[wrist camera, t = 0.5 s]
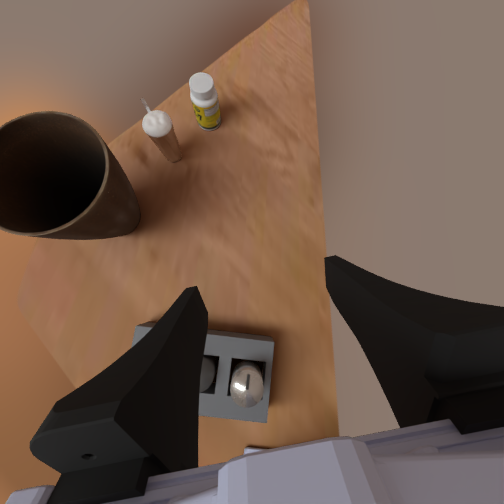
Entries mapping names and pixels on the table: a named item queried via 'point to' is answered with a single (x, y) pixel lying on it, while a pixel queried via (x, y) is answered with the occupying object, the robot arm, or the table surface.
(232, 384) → the knob
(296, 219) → the table surface
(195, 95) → the supplement bottle
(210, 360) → the knob middle
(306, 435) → the table surface
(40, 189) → the plant pot
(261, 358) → the control panel
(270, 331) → the table surface
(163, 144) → the milkshake
